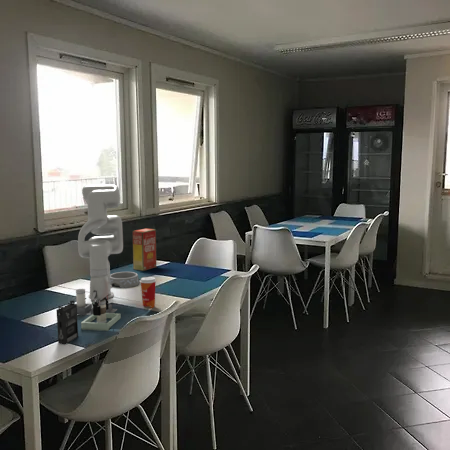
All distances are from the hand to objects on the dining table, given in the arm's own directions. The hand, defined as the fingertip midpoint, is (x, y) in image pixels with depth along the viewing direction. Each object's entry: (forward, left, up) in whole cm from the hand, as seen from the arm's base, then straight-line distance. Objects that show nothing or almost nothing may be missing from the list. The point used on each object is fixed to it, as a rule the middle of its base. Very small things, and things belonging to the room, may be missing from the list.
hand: (101, 312), depth 218 cm
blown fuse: (0, 0, -5) cm, 5 cm away
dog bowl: (-68, -16, -6) cm, 70 cm away
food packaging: (-107, -17, -6) cm, 108 cm away
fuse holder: (-14, -11, -6) cm, 19 cm away
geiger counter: (+19, -6, -6) cm, 21 cm away
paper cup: (-28, +12, -6) cm, 31 cm away
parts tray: (0, 0, -6) cm, 6 cm away
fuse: (-14, -16, -5) cm, 22 cm away
